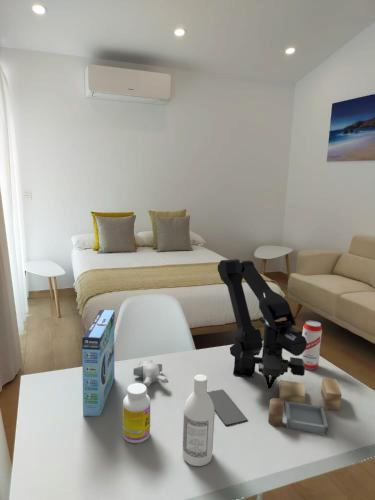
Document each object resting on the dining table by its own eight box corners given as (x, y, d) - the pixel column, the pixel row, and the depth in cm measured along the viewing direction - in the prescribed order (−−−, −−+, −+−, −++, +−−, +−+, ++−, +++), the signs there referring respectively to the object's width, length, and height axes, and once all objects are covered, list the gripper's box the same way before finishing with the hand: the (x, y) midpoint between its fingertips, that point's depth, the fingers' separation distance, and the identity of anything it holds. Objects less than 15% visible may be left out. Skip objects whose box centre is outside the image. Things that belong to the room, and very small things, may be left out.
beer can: (319, 371, 124) (324, 327, 120) (300, 369, 125) (304, 325, 122) (316, 363, 130) (321, 320, 126) (298, 360, 131) (302, 318, 128)
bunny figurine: (157, 355, 123) (171, 372, 109) (158, 369, 124) (171, 388, 110) (130, 359, 120) (140, 377, 106) (130, 374, 120) (141, 394, 106)
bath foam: (195, 440, 89) (198, 366, 85) (218, 455, 85) (222, 377, 81) (176, 456, 84) (178, 377, 80) (199, 472, 80) (203, 390, 76)
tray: (287, 427, 95) (287, 421, 95) (285, 407, 104) (286, 401, 103) (327, 434, 93) (328, 427, 93) (322, 413, 102) (323, 406, 101)
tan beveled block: (279, 401, 107) (280, 392, 106) (279, 388, 114) (280, 379, 113) (304, 405, 105) (305, 396, 105) (302, 392, 112) (303, 383, 111)
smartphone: (225, 425, 95) (202, 392, 108) (225, 428, 95) (202, 395, 108) (248, 420, 97) (223, 388, 111) (248, 423, 97) (223, 391, 111)
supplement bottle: (148, 445, 87) (148, 397, 85) (120, 444, 87) (120, 395, 85) (151, 426, 94) (152, 381, 91) (125, 425, 94) (125, 380, 91)
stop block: (324, 408, 104) (326, 392, 103) (320, 392, 111) (322, 377, 110) (339, 410, 103) (341, 394, 102) (334, 394, 111) (336, 379, 110)
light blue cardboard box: (99, 377, 116) (98, 309, 111) (115, 377, 116) (115, 309, 111) (82, 416, 97) (80, 336, 92) (101, 417, 97) (100, 337, 92)
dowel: (268, 425, 96) (270, 405, 94) (268, 417, 99) (270, 397, 98) (282, 428, 95) (284, 407, 94) (281, 419, 98) (283, 399, 97)
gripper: (239, 348, 102) (236, 398, 105) (308, 357, 98) (303, 409, 101) (242, 332, 112) (239, 378, 115) (305, 340, 108) (300, 387, 111)
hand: (269, 388), depth 110 cm, fingers closed
